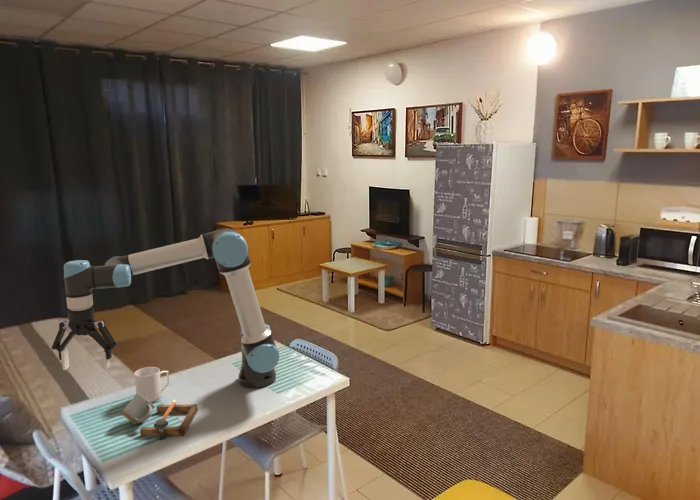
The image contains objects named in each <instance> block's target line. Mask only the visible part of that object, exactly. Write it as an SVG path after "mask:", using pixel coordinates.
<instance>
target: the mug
mask: <svg viewBox="0 0 700 500" xmlns="http://www.w3.org/2000/svg"><path fill="white" fill-rule="evenodd" d="M169 372H170V371H169V370H161V371H160V368H159V367H158V366H157V367H156V366H147V367H142V368H140V369H137V370H136V371H134V374H133V375H134V384H135V387H134V388H135V395H136V394H137V393H139V394H140V395H142V396H143V397H145V398H146V399H147V400H148V401H150V402H151V403H152V404H153V403H155V402H157V401H158V400H159V399H160V398H161V397H162V394H163V391H164V390H166V388H167V387H168V386H169V384H170V382H169V381H170V380H169V379H170V377H169ZM165 373H166V383H165V385H164V386H162V382H161V375H162V374H165Z"/></svg>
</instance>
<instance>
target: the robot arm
mask: <svg viewBox="0 0 700 500" xmlns="http://www.w3.org/2000/svg"><path fill="white" fill-rule="evenodd" d="M203 258H204V259H206V260H210V259H214V260H215V263H216V266H217V267H216V268H217V269H218V272H219V274H221V275H223V276H224V277H225V279H226V283H227V286H228V287H227V288H228V290H229V292H230V296H231V299H232V303H233V306H234V309H235V312H236V315H237V318H238V321H239V325H240V343H241V344H240V345H241V365H240V368H239V372H238V383H239V384H240V385H241V386H242V387H246V388H261V387H266V386H270V385H271V384H273V383H274V382H275V381H276V380H277V372H276V369H275V368H276V366H277V365H278V363H279V361H280V357H281V355H280V350H279V349H278V347H277V345H276V342H275V338H274V336H273V333H272V330H271V326H270V325H269V324H267V323H266V322H265V319H264V316H263V313H262V310H261V306H260V302H259V300H258V296H257V292H256V290H255V285H254V284H253V279H252V276H251V273H250V270H249V269H250V266H251V264H252V262H251V261H252V260H251V258H250V253H249V247H248V243H247V241H246V239H245V237H243V236H242V235H241V234H240V233H239V232H238V231H237V230H236V229H233V228H231V227H230V228H228V227H226V228H225V227H223V228H219V229H216V230H214V231H213V230H212V231H211V232H207V233H204V234H203V233H202V234H200V236H199V237H197V238H193V239H190V240H185V241H181V242H177V243H173V244H172V243H171V244H169V245H164V246H161V247H157V248H156V247H155V248H151V249H147V250H144V251H139V252H134V253H131V254H128V255H123V256H118V255H117V256H112V257H111V258H109V259H108V260H106V262H105V263H104V265H95V266H93V265H91V264H90V262H89V260H88V259H87V260H84V259H83V260H82V259H79V260H78V259H76V260H71V261H67V262H65V263H64V265H63V280H64V281H63V282H64V286H65V287H64V288H65V297H66V298H65V299H66V307H67V309H68V310H67V317H68V321H67V320H63V321H61V322H60V323H59V324H58V331H57V334H56V336H55V338H54V341H53V343H52V346H51V350H56V351H57V352H58V360H60V361H61V366H62V367H61V368H62V370H63V371H66V370H68V369H69V368H70V360H69V357H70V356H69V350H68V348H66V347H67V346H68V344H69V343H71V341H72V340H73V339H74V337H75V335H76V336H89V337H91V338H92V339H93V340H94V341H95V342H96V343H97V344H98V345H99V346H100V347H101V349H103V350H102V360H103V370H105V371H106V370H108V369H109V368H110V367H111V361H110V359H111V358H112V356H113V355H112V350H113V349H115V348H116V347H117V345H118V344H117V342H116V341H115V339H114V337H113V336H112V334H111V333H110V331H109V329H108V327H107V326H106V322H105V320H104V319H101V320H100V321H95V307H94V306H93V305H94V298H93V290H96V289H97V290H98V289H100V290H101V289H111V288H112V289H114V288H118V289H119V288H124V287H129V286H130V285H131V283H132V276H136V275H139V274H143V273H147V272H151V271H156V270H160V269H164V268H167V267H172V266H175V265H179V264H184V263H188V262H192V261H195V260H201V259H203ZM67 328H69V329H70V331H69V333H67V336H66V337H65V339H63V338H64V336H65V334H66V331H67ZM62 341H63V342H62Z"/></svg>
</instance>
